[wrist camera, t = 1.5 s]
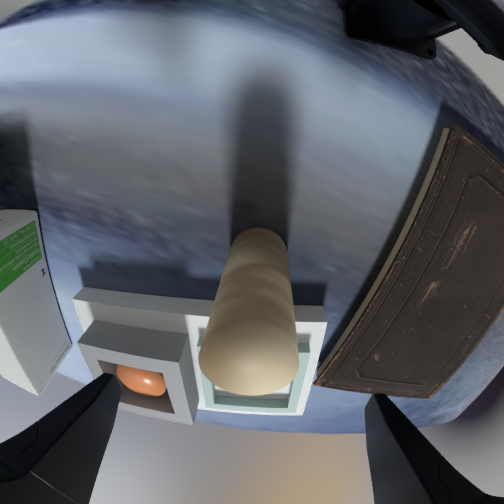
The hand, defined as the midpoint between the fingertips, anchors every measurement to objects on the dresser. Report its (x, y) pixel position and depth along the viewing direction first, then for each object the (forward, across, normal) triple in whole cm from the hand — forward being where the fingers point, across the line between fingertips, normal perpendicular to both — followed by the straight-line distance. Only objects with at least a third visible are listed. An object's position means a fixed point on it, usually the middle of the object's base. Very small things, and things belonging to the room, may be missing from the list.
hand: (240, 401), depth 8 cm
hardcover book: (+12, -16, +3) cm, 21 cm away
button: (+9, +9, +10) cm, 16 cm away
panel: (+12, +5, +10) cm, 16 cm away
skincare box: (+7, +22, -3) cm, 23 cm away
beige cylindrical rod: (+12, 0, 0) cm, 12 cm away
